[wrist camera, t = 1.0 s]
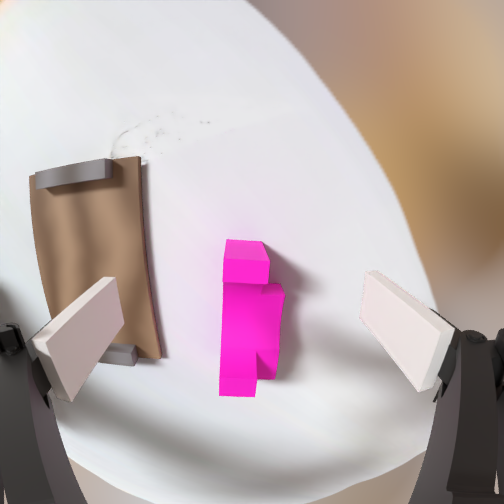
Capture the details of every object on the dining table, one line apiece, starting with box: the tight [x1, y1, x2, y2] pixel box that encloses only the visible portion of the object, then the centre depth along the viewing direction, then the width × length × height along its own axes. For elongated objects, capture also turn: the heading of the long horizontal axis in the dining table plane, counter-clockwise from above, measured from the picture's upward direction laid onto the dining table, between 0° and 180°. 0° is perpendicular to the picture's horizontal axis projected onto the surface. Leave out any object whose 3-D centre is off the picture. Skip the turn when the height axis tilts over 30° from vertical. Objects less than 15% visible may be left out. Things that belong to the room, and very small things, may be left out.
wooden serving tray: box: [29, 156, 162, 366], centre depth 28 cm, size 16×24×3 cm, turn 1°
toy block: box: [219, 239, 285, 397], centre depth 28 cm, size 15×6×8 cm, turn 176°
